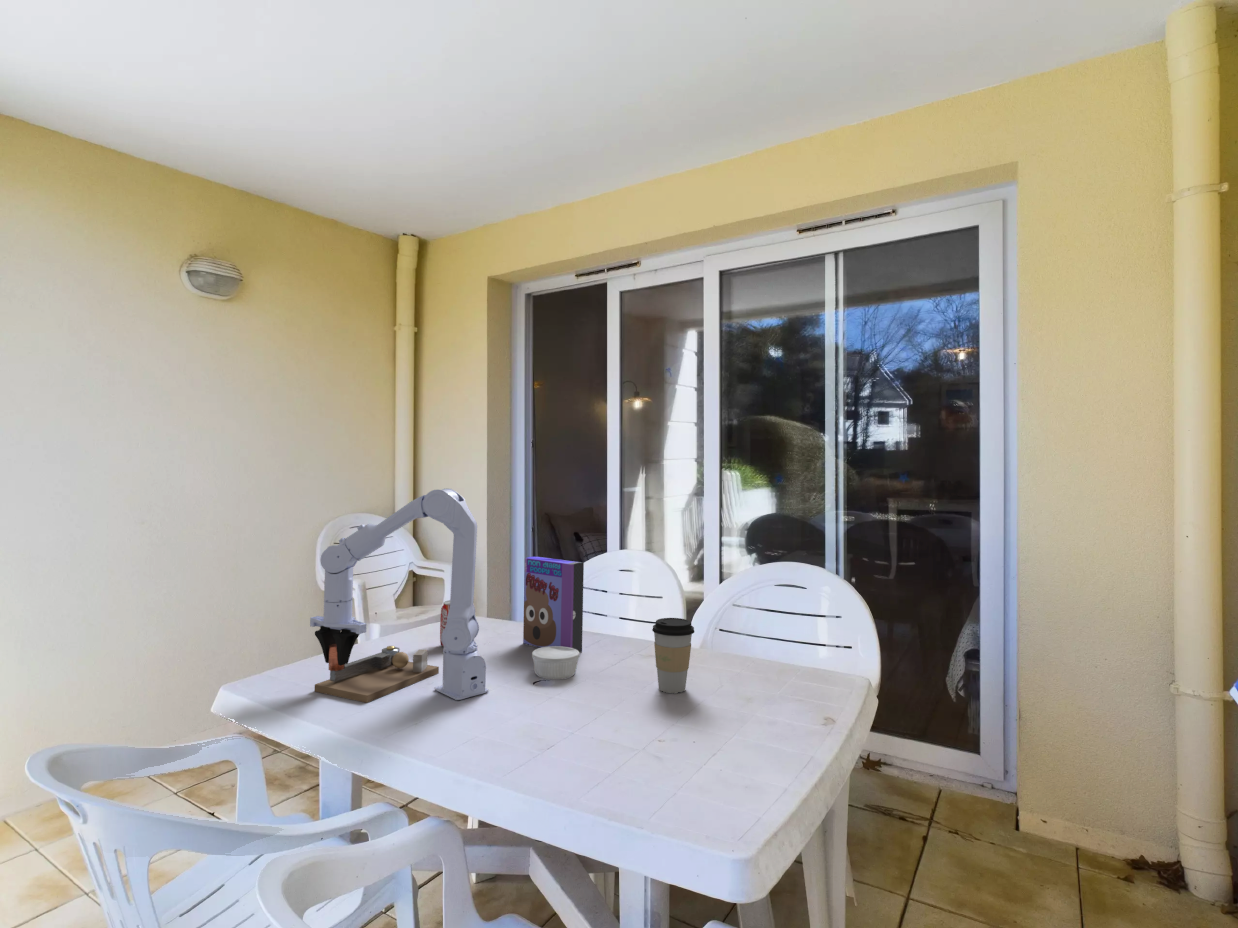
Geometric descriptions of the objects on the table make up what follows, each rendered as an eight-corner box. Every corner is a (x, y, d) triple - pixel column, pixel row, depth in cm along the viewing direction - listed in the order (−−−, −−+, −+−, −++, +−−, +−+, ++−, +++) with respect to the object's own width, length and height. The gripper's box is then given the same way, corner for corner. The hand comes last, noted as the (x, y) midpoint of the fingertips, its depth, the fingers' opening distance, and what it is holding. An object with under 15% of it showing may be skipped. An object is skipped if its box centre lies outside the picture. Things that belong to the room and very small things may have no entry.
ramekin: (582, 668, 158) (582, 646, 158) (574, 682, 147) (575, 659, 147) (537, 665, 159) (538, 644, 159) (526, 680, 148) (527, 657, 148)
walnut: (399, 664, 152) (400, 649, 152) (411, 666, 150) (412, 651, 150) (388, 668, 149) (389, 653, 149) (400, 670, 147) (401, 655, 147)
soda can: (462, 650, 172) (463, 604, 172) (436, 649, 172) (437, 604, 172) (469, 643, 179) (470, 599, 179) (444, 642, 179) (445, 599, 179)
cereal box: (523, 643, 179) (524, 557, 179) (535, 640, 183) (537, 555, 183) (570, 655, 169) (571, 563, 169) (582, 651, 172) (583, 561, 173)
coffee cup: (644, 691, 142) (645, 623, 142) (661, 679, 150) (662, 615, 150) (684, 699, 137) (685, 628, 137) (699, 686, 146) (700, 620, 146)
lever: (390, 658, 157) (390, 626, 157) (404, 661, 155) (405, 628, 155) (323, 681, 139) (324, 645, 139) (338, 684, 137) (339, 648, 137)
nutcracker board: (389, 664, 158) (390, 641, 158) (438, 673, 152) (439, 649, 152) (314, 691, 138) (315, 665, 138) (367, 702, 132) (367, 675, 132)
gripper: (377, 600, 140) (376, 662, 140) (329, 593, 146) (327, 653, 146) (352, 605, 134) (350, 671, 134) (302, 599, 140) (301, 661, 140)
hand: (336, 662), depth 139 cm, fingers closed on lever, 3 cm apart
